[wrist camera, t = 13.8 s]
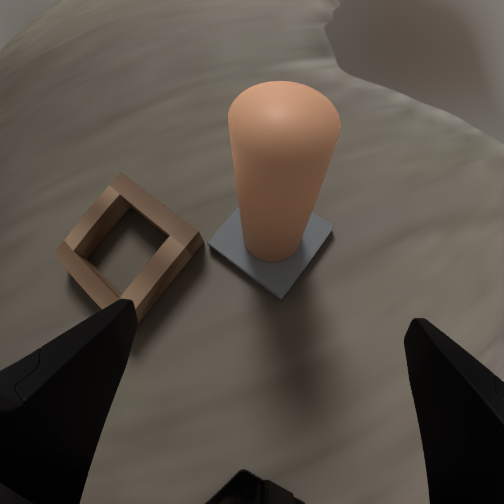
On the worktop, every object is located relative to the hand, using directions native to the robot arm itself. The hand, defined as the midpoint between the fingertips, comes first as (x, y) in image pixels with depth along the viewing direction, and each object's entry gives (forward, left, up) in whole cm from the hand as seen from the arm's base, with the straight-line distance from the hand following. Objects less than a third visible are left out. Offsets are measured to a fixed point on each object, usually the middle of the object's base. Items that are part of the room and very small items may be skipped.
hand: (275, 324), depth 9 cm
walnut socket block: (-2, +13, -14) cm, 19 cm away
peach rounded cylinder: (+6, +4, -13) cm, 15 cm away
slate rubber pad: (+6, +4, -14) cm, 16 cm away
